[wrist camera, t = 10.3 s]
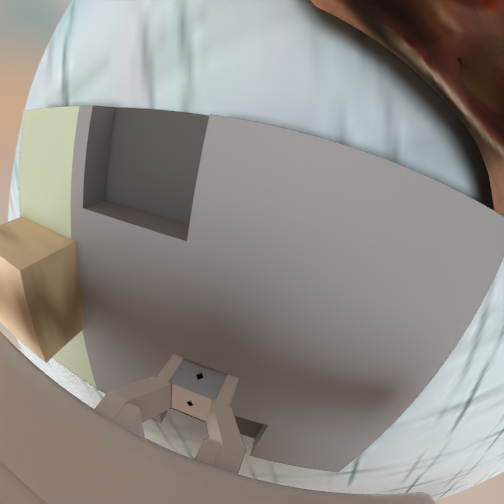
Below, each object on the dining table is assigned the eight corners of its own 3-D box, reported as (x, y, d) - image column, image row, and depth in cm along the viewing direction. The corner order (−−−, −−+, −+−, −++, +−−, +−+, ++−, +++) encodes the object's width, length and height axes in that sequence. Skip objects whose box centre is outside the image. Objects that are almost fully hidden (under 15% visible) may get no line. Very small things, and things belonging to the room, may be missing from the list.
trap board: (339, 452, 17) (337, 472, 15) (61, 343, 20) (48, 355, 18) (493, 212, 9) (515, 224, 7) (46, 109, 12) (24, 110, 11)
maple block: (85, 327, 15) (45, 362, 11) (33, 292, 16) (-4, 317, 12) (76, 241, 12) (20, 271, 9) (22, 216, 13) (-24, 235, 10)
